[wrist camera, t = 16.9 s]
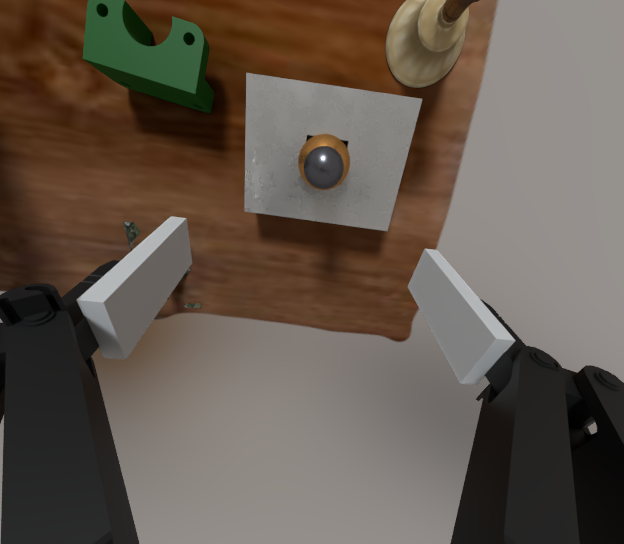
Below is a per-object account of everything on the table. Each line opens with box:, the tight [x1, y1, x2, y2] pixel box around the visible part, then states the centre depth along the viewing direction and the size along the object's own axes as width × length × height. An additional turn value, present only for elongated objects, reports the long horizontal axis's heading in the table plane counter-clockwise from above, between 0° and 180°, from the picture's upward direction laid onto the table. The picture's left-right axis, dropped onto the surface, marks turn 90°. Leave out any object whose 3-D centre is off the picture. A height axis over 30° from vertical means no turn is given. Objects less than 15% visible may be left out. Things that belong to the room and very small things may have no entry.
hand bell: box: [386, 0, 479, 88], centre depth 21 cm, size 8×8×16 cm
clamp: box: [83, 0, 214, 113], centre depth 28 cm, size 12×6×9 cm, turn 68°
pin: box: [298, 134, 350, 190], centre depth 27 cm, size 6×6×14 cm
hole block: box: [244, 73, 422, 231], centre depth 31 cm, size 18×14×5 cm
